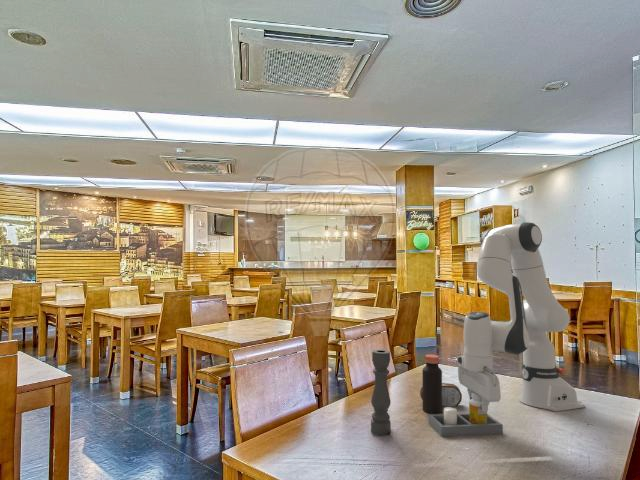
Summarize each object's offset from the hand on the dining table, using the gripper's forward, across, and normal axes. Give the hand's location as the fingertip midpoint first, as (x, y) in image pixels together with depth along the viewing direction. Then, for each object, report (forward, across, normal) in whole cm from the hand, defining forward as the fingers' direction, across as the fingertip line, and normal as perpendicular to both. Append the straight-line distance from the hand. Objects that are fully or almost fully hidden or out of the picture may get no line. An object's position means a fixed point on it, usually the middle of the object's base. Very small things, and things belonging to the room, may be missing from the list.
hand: (478, 406), depth 130 cm
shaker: (+6, 0, +10) cm, 12 cm away
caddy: (+7, 0, +5) cm, 9 cm away
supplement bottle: (+6, 0, 0) cm, 6 cm away
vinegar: (+8, +16, +9) cm, 20 cm away
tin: (+8, +22, +3) cm, 23 cm away
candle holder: (+7, +2, +32) cm, 33 cm away
